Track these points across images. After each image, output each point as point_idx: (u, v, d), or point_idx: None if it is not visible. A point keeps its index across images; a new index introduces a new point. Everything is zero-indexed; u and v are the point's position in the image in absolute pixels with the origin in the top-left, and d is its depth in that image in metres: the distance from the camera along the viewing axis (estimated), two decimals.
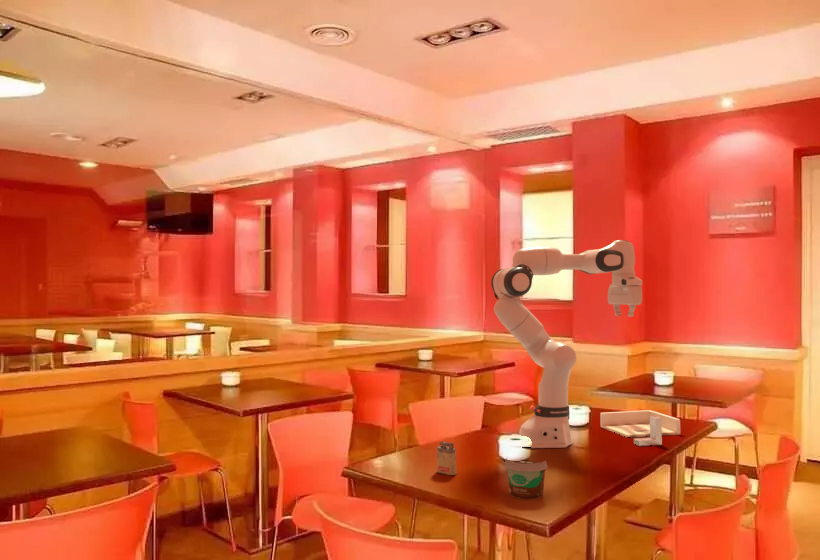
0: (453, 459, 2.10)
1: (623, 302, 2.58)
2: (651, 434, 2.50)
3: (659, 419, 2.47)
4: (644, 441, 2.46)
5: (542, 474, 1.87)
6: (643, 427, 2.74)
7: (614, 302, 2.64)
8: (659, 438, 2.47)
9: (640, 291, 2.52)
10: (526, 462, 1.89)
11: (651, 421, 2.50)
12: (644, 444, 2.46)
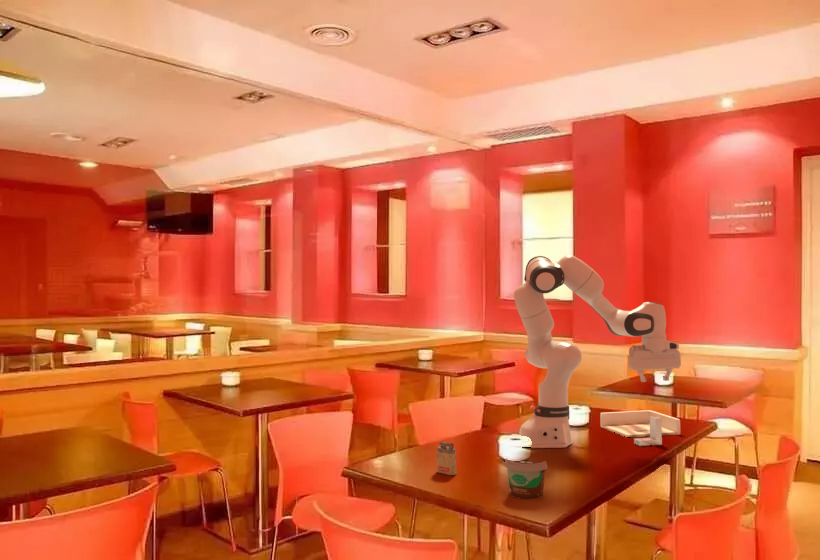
0: (453, 459, 2.10)
1: (663, 366, 2.48)
2: (651, 434, 2.50)
3: (659, 419, 2.47)
4: (644, 441, 2.46)
5: (542, 474, 1.87)
6: (643, 427, 2.74)
7: (647, 367, 2.47)
8: (659, 438, 2.47)
9: None
10: (526, 462, 1.89)
11: (651, 421, 2.50)
12: (644, 444, 2.46)
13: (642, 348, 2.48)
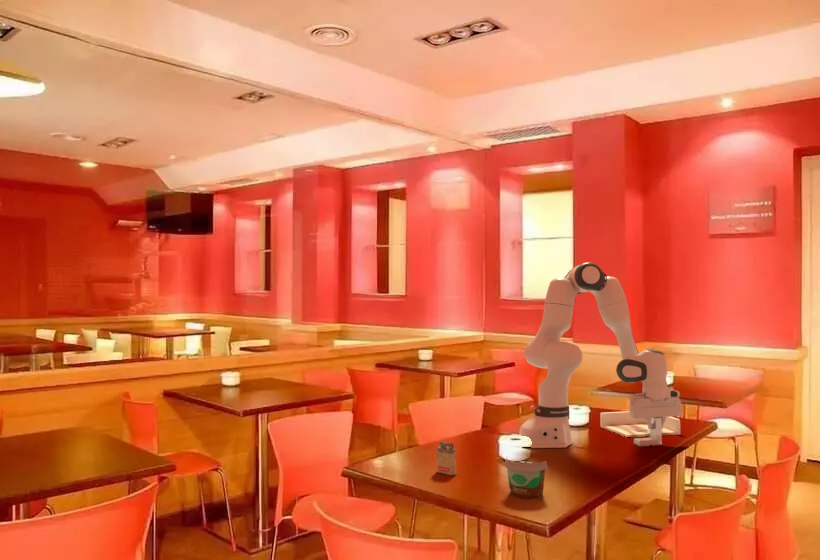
0: (453, 459, 2.10)
1: (664, 414, 2.48)
2: (651, 434, 2.50)
3: (659, 419, 2.47)
4: (644, 441, 2.46)
5: (542, 474, 1.87)
6: (643, 427, 2.74)
7: (647, 416, 2.47)
8: (659, 438, 2.47)
9: None
10: (526, 462, 1.89)
11: (651, 421, 2.50)
12: (644, 444, 2.46)
13: (643, 396, 2.48)
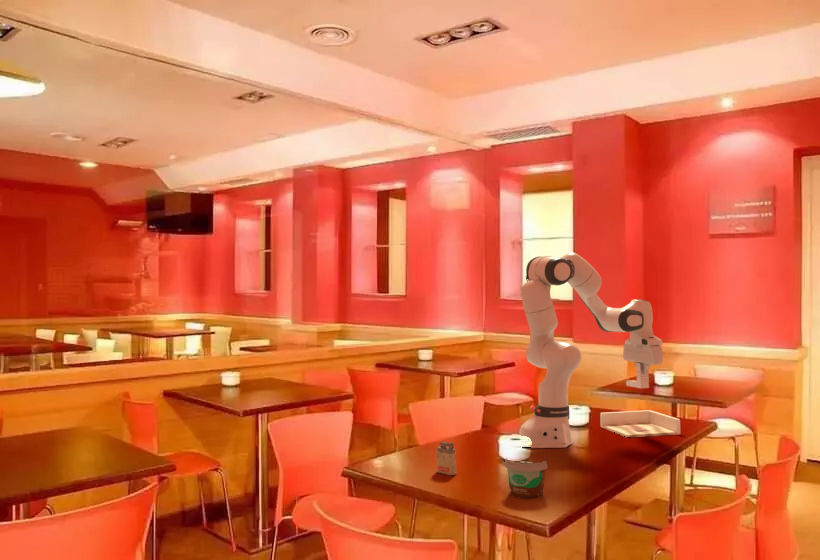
0: (453, 459, 2.10)
1: (642, 361, 2.63)
2: None
3: (639, 364, 2.65)
4: (629, 382, 2.71)
5: (542, 474, 1.87)
6: (643, 427, 2.74)
7: (631, 359, 2.69)
8: (638, 382, 2.65)
9: (661, 351, 2.57)
10: (526, 462, 1.89)
11: None
12: (629, 384, 2.71)
13: None
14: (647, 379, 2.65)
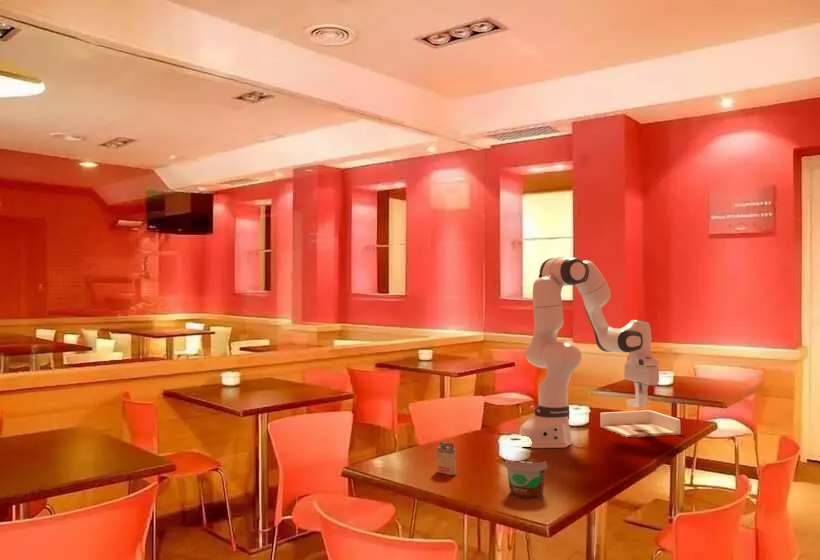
0: (453, 459, 2.10)
1: (640, 381, 2.65)
2: None
3: (637, 384, 2.67)
4: (629, 401, 2.73)
5: (542, 474, 1.87)
6: (643, 427, 2.74)
7: (631, 379, 2.72)
8: (637, 401, 2.68)
9: (657, 372, 2.59)
10: (526, 462, 1.89)
11: None
12: (629, 403, 2.73)
13: None
14: (646, 399, 2.67)
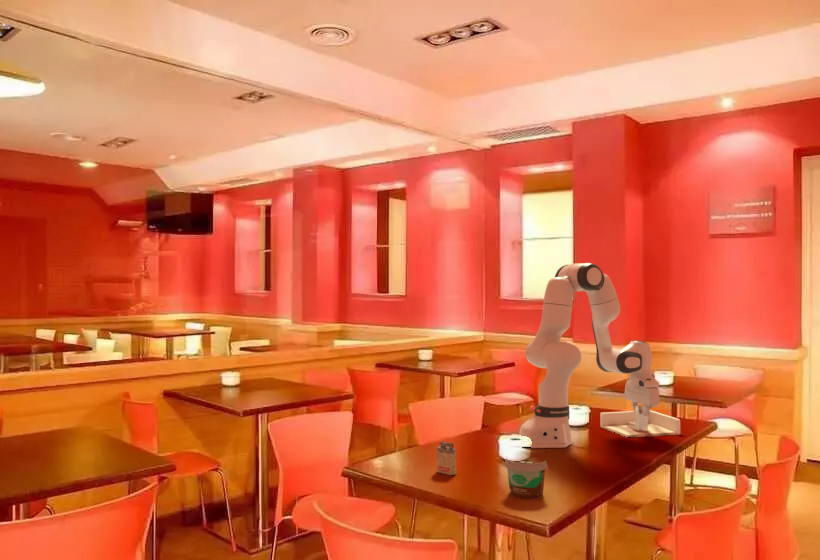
0: (453, 459, 2.10)
1: (640, 402, 2.65)
2: None
3: (637, 407, 2.67)
4: (629, 423, 2.73)
5: (542, 474, 1.87)
6: None
7: (631, 399, 2.72)
8: (637, 424, 2.67)
9: (657, 393, 2.59)
10: (526, 462, 1.89)
11: None
12: (629, 426, 2.73)
13: None
14: (646, 422, 2.67)
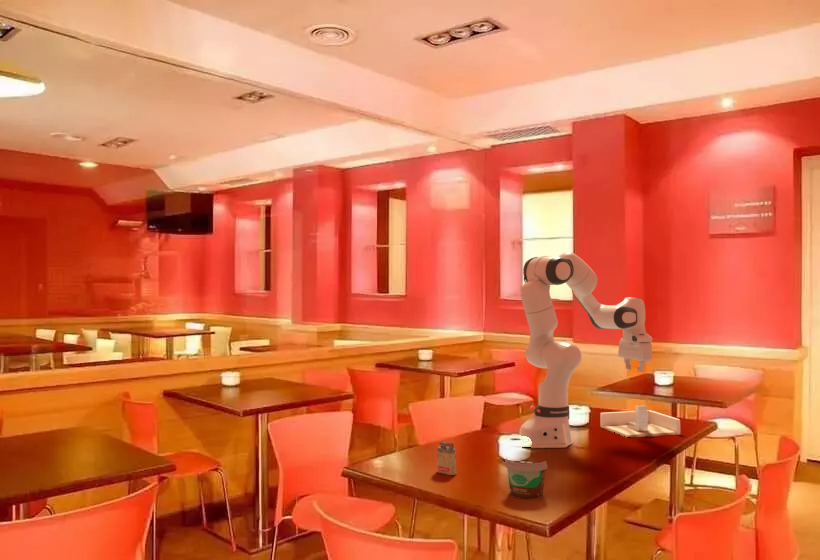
0: (453, 459, 2.10)
1: (633, 357, 2.67)
2: None
3: (637, 407, 2.67)
4: (629, 423, 2.73)
5: (542, 474, 1.87)
6: None
7: (625, 356, 2.74)
8: (637, 424, 2.67)
9: (650, 348, 2.61)
10: (526, 462, 1.89)
11: None
12: (629, 426, 2.73)
13: None
14: (646, 422, 2.67)
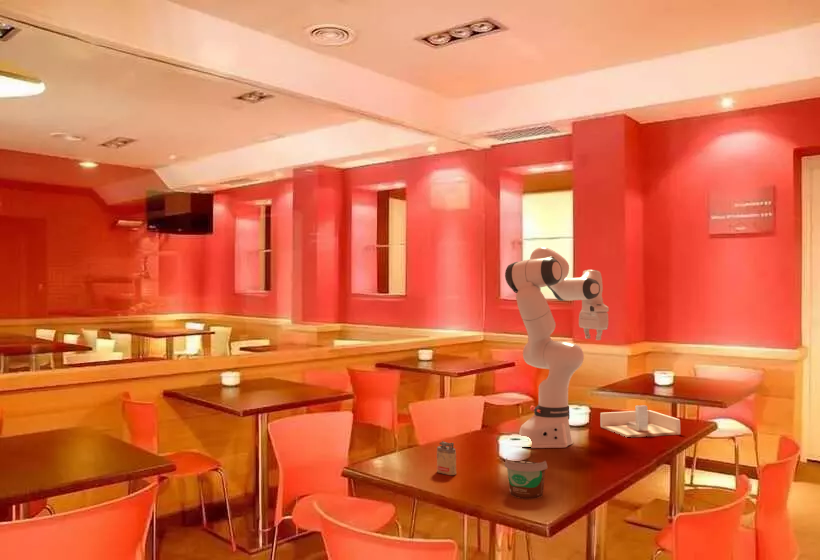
0: (453, 459, 2.10)
1: (591, 327, 2.82)
2: None
3: (637, 407, 2.67)
4: (629, 423, 2.73)
5: (542, 474, 1.87)
6: None
7: (584, 326, 2.89)
8: (637, 424, 2.67)
9: (606, 317, 2.76)
10: (526, 462, 1.89)
11: None
12: (629, 426, 2.73)
13: None
14: (646, 422, 2.67)
